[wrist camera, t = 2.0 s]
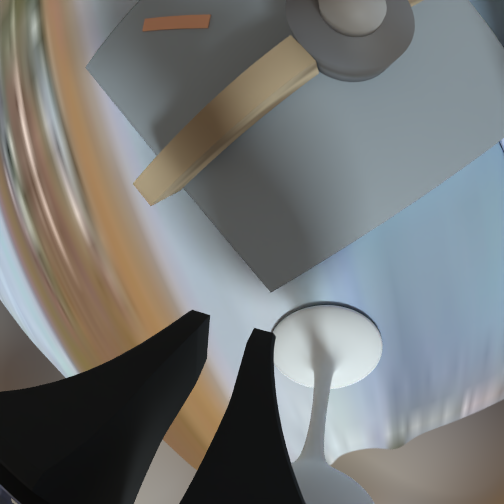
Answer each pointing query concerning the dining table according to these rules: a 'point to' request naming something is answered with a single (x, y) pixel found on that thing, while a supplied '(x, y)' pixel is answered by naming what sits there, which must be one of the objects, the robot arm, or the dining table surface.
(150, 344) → the robot arm
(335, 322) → the wineglass
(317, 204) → the grey flat slab
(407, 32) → the curved bar with hub
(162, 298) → the dining table surface
